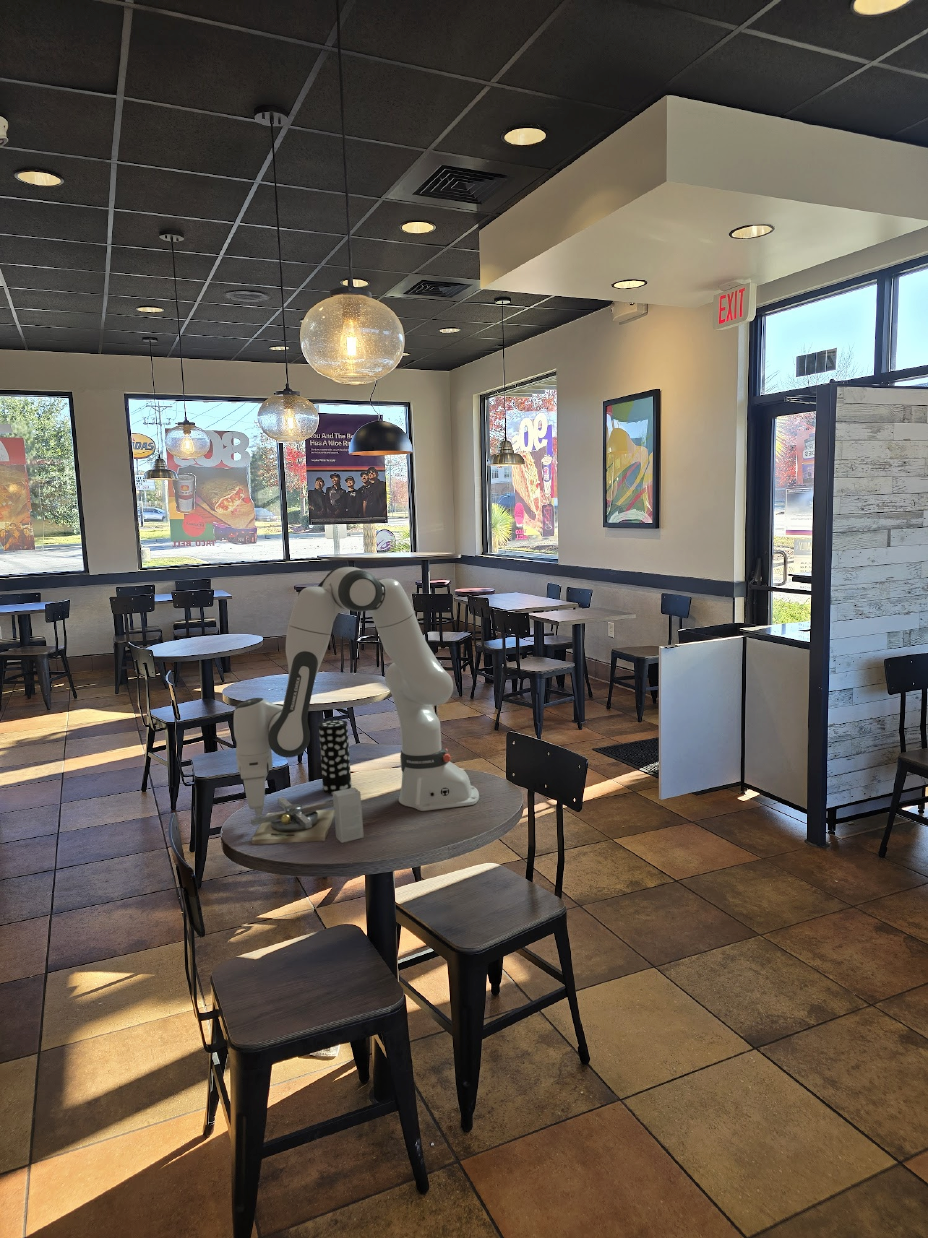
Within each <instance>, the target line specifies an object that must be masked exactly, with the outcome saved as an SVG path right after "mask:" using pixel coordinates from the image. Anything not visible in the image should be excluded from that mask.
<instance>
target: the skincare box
mask: <svg viewBox="0 0 928 1238" xmlns="http://www.w3.org/2000/svg"><path fill="white" fill-rule="evenodd" d="M361 797H362V796H361V791H360V790H358V789H357V788H356V787H354V786H353V787H351V788H350V789H345V790H340V791H335V792H333V794H332V800H333V804H334V807H333V810H334V824H335V825H334V826H335V837H336V839H337V840H338V841H339V842H340V843H348V842H351V841H355V840H358V839H363V838H364V837H365V836H364V825H363V824H364V823H363V809H362V799H361Z"/></svg>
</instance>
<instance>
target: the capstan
mask: <svg viewBox="0 0 928 1238" xmlns="http://www.w3.org/2000/svg"><path fill="white" fill-rule="evenodd" d="M277 805H279V806H280V807H281V809H283V810H281V811H277V812H271V813H272V814H268V815H267V814H264V815H263V814H262V815H258V816H256V817H251V818H250V824H251V825H252V826H257V825H261V824H262V823H266V822H271V828H272V829H274V830H276V831H280V832H296V831H301V830H305V829H308V828H311V827H313V826H314V825H316V824H317V823H318V813H317V812H316V811H320V810H327V809H330V808H334V804H333V799H329V800H325V801H321V802H317V803H313V804H308V805H307V804H306V805H302V804H299V803H297V804H292V803H290V802H289V801H288V800H287V799H286V798H285V797H278V798H277Z"/></svg>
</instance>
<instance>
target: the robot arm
mask: <svg viewBox="0 0 928 1238" xmlns="http://www.w3.org/2000/svg"><path fill="white" fill-rule="evenodd" d="M343 610H349V611H351V612H355V613H356V612H361V613H362V612H366V611H368V612H369V613H370V615H371V617H372V620H373V623H374V625H375V628H376V631H377V634H378V637H379V638H380V641H381V643H382V644H381V645H382V648H383V650H384V652H385V653H386V654H387V656H388V657H389V658H390V659H391V661H392V663H390V665H389V666H388V667H387V669H386V671H385V675H384V683H385V685H386V687H387V688H388V690H389V692H390V694H391V696H392V699H393V703H394V707H395V710H396V713H397V717H398V722H399V726H400V739H401V740H400V742H401V750H400V755H399V756H400V757H399V758H400V769H401V773H402V776H401V787H400V793H399V797H398V802H399V803H400V804H401V805H403V806H405V807H408V808H414V809H416V810H418V811H422V812H426V811H432V810H433V811H434V810H440V809H441V810H442V809H450V808H457V807H458V808H459V807H464V806H465V807H466V806H473V805H475V804H477V802H479V800H480V793H479V790H478V788H476V787H475V786H474V785H471V781H470V778H469V777H470V776H468V773H467V772H466V771H465V770H464V769H463V768H460V767H459V766H458V765H456V764H454V763H453V762H451V758H452V757H451V754H450V752H449V751H448V748H443V747H442V736H441V735H442V733H441V722H440V719H439V717H438V715H437V714H436V712H435V710H434V707H435V706H440V705H443V704H445V703H447V702H448V701H449V699H450V698H451V696H452V695H453V692H454V681H453V678H452V676H451V675H450V674H449V673H448V672H447V671H446V670H445V669H444V668H443V666H442V665H441V664H440V662H439V660H438V659H437V658H436V655H435V654H434V652H433V651H432V649H431V648H430V646H429V644H428V643H427V641H426V639H425V637H424V634H423V633H422V630H421V626H420V625H419V621H418V618H417V616H416V613H415V610H414V607H413V605H412V603H411V600H410V598H409V597H408V595H407V592H405V590H404V588H403V586H402V584H401V583H400V582H399V581H398V580H396V579H394V578H382V579H379V580H378V578H376V577H375V576H374V575H373V574H372V573H370V572H368V571H366V570H363V569H361V568H359V567H356V566H355V567H353V566H346V565H345V566H344V565H343V566H338V567H335V568H333V569H332V570H330V571H329V572H328V573H327V575H326V576H325V577H324V578H323V579H322V581H321V582H320V583H319V584H318V585H316V586H307V587H304V588H303V589H301V591H300V592H299V594H298V595H297V598H296V600H295V603H294V605H293V608H292V610H291V614H290V617H289V621H288V625H287V630H286V636H285V637H286V638H285V656H286V661H287V667H288V668H287V669H288V679H287V685H286V691H285V694H284V699H283V703H282V704H283V705H279V704H276V703H273V702H270V701H268V700H266V699H265V698H262V697H252V698H250V699H246V700H243V701H241V702H239V703H238V704H237V706H236V707H235V708H234V711H233V733H234V739H235V741H236V748H235V754H236V755H235V756H236V757H235V758H236V767H237V768H236V769H237V772H238V773H239V774H240V779H241V780H243V785H244V791H245V796H246V801H247V805H248V809H250V810H253V809H254V813H255V816H263V810H264V809H263V807H264V806H265V798H266V797H265V794H266V779H267V777H268V774H269V771H270V770H271V768H273V766H274V765H273V763H274V762H273V753H274V754H276V755H277V756H280V757H283V758H294V757H298V756H300V755H301V754H303V753H304V751H306V750H307V748H308V746H309V744H310V741H311V732H310V728H309V723H308V717H309V716H308V714H309V709H310V705H311V700H312V694H313V689H314V685H315V682H316V678H317V675H318V672H319V669H320V667H321V665H322V662H323V659H324V657H325V654H326V652H327V649H328V646H329V644H330V640H331V637H332V636H331V635H332V630H333V625H334V622H335V620H336V618H337V616H338V615H339V613H340V612H341V611H343ZM433 706H434V707H433Z"/></svg>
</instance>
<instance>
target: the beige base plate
mask: <svg viewBox="0 0 928 1238" xmlns="http://www.w3.org/2000/svg"><path fill="white" fill-rule="evenodd" d="M316 812H317V813H318V823H317V824H316V825H314V826H313V827H311V828H308V829H305V830H301V831H296V832H280V831H276V830H274V829H272V828H271V822H266V823H262V824H259V827H258V828H257V830H256V832H255V833H254V835H253V836H252V838H251V845H266V844H283V843H284V844H286V843H305V842H308V843H309V842H321V841H324V842H325V841H326V838H327V836H328V833H329V830H330V828H331V825H332V823H333V820H334V819H335V816H334V809H322V810H318V811H316ZM272 813H273V812H268V813H266V815H268V814H272Z"/></svg>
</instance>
